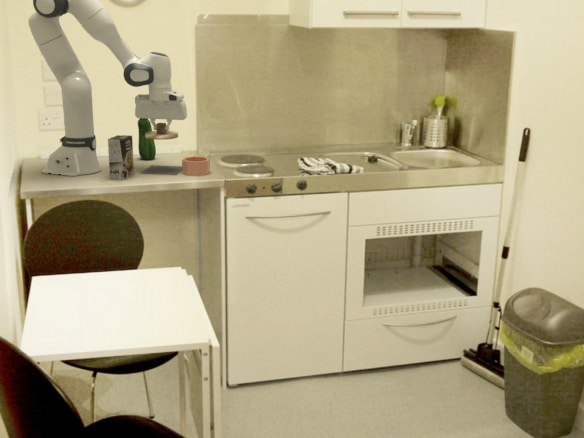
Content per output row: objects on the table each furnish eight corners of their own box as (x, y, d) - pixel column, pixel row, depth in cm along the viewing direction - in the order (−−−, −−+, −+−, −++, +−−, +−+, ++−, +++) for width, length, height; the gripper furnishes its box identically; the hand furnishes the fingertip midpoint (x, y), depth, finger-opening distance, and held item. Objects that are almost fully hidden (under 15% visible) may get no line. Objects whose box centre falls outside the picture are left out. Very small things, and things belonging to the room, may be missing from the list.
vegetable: (159, 160, 320) (157, 113, 314) (145, 162, 315) (143, 115, 309) (149, 157, 325) (147, 111, 319) (135, 160, 320) (133, 113, 314)
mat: (139, 174, 294) (139, 173, 294) (151, 166, 308) (151, 165, 308) (176, 176, 292) (176, 175, 292) (187, 168, 306) (186, 166, 306)
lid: (140, 138, 291) (139, 125, 289) (151, 132, 303) (150, 120, 301) (172, 140, 289) (172, 126, 287) (182, 134, 301) (181, 121, 300)
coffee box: (125, 181, 283) (123, 139, 279) (109, 180, 285) (106, 138, 280) (135, 176, 292) (132, 135, 287) (119, 175, 293) (117, 134, 288)
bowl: (180, 176, 292) (179, 161, 290) (187, 170, 302) (187, 156, 300) (205, 177, 291) (205, 162, 289) (211, 171, 300) (211, 157, 298)
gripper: (131, 95, 289) (133, 130, 293) (183, 97, 287) (184, 132, 291) (137, 93, 295) (138, 127, 299) (187, 95, 293) (188, 130, 297)
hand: (161, 130), depth 295 cm, fingers closed on lid, 3 cm apart
